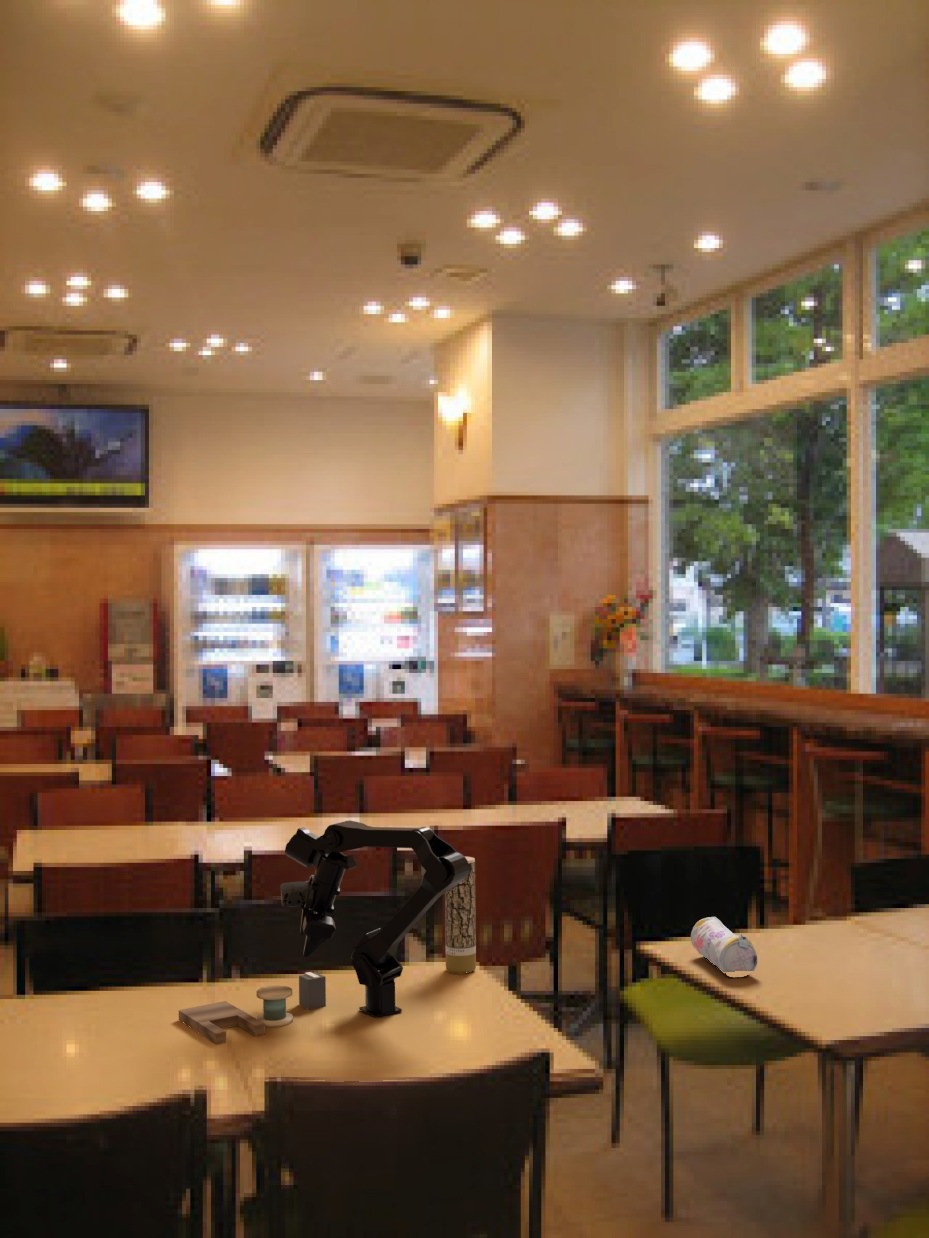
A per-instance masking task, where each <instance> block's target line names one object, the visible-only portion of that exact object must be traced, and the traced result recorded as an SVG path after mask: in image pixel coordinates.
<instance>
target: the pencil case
mask: <svg viewBox="0 0 929 1238" xmlns="http://www.w3.org/2000/svg"><path fill="white" fill-rule="evenodd" d="M690 933H691V934H690V941H691V945H692V947H693V948H694V949H695V950H696V951H697V952H698V954H700V955H701V956H702V955H703V956H704V957H705V958H707V959H708V960H709V961H711V962H712V963H714V964H715V965H716V966H717V967H718V968H719V969H721V970H722V971H723V972H735V971H754V972H755V970H756V968H757V965H758V955H757V951H756V949H755V947H754V945H753V944H752V942H751V940H749V938H748V937H747V936H744V935H742V934H743V933H742V932H741V933H738V934H735V933H733V932H732V931H731V930H730V929H729V928H727V926H725V925H724V924H723V922H722V921H721V920H720V919H719V918H717V917H716V916H711V917H710V916H709V917H704V918H702V919H700V920H698V921H697V922H696V923H695V925H694V926H693V927H692V930H691V932H690ZM703 956H702V957H703ZM704 957H703V958H704ZM705 958H704V959H705ZM707 959H706V960H707ZM708 960H707V961H708ZM709 961H708V962H709ZM717 967H716V968H717ZM718 968H717V969H718ZM719 969H718V970H719Z"/></svg>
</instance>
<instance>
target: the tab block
mask: <svg viewBox="0 0 929 1238" xmlns="http://www.w3.org/2000/svg"><path fill="white" fill-rule="evenodd" d="M326 978H327V977H326V976H325V975H323V974H321V973H318V972H316V971H315V972H311V971H308V972H304V974H300V975H298V1005H299V1006H301V1007H303V1008H304V1009H306V1010H312V1009H317V1008H323V1007H326V1006H327V1003H326V1001H327V999H326V998H327V997H326V996H327V994H326V992H327V990H326V989H327V988H326V987H327V985H326V984H327V983H326Z"/></svg>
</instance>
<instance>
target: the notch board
mask: <svg viewBox="0 0 929 1238" xmlns="http://www.w3.org/2000/svg"><path fill="white" fill-rule="evenodd" d="M179 1020H181V1021H180V1022H181V1023H182V1022H184V1023H185V1024H187V1025H189V1026H190V1027H191V1028H192V1029H191V1028H190V1027H189V1028H190V1029H191V1030H193V1031H195V1032H196V1031H197V1032H196V1033H198V1032H199V1033H200V1035H201V1036H202V1035H203V1036H202V1037H203V1038H205V1037H206V1039H207V1040H209V1041H210V1042H211V1043H213V1044H215V1045H221V1044H225V1043H227V1031H226V1030H225V1029H226V1027H228V1028H231V1027H236V1025H237V1026H238V1027H239V1028H242V1029H243V1030H244V1031H246V1032H248V1033H249V1034H251V1035H253V1036H255V1037H258V1036H263V1035H266V1027H265V1023H263V1022H261V1021H260V1020H258V1019H257V1017H254V1016H252V1015H251V1014H249V1013H248V1012H246V1011H244V1010H242V1009H240V1008H238V1007H236V1006H235V1005H233V1004H231V1003H230V1002H228V1001H227V1000H224V1001H218V1002H214V1003H209V1004H204V1005H198V1006H194V1007H193V1006H192V1007H188V1008H183V1009H179V1010H178V1021H179ZM184 1023H183V1024H184ZM185 1024H184V1025H185ZM187 1025H186V1026H187ZM221 1028H223V1029H221ZM199 1033H198V1034H199Z"/></svg>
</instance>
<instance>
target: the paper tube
mask: <svg viewBox="0 0 929 1238" xmlns="http://www.w3.org/2000/svg"><path fill="white" fill-rule="evenodd" d="M463 856H464V855H463ZM464 857H465V858H466V859H467V861H468V864H469V870H470V871H469V874H468V876H467V877H466V878H465V879H464V880H463V881H461V882H460V883H459V884H457V885H456V886H455V887H453V888H452V889H450V890H449V891H447V892H446V893H444V913H445V914H444V915H445V916H444V920H445V921H444V922H445V923H444V927H445V928H444V929H445V931H444V933H445V934H444V935H445V969H446V971H447V972H448V973H451V972H453V973H452V974H456V973H465V974H467V973H466V972H470V973H473V972H474V971H475V970H476V969H477V956H476V955H477V949H476V948H477V944H476V943H477V938H476V937H477V934H476V933H477V929H476V928H477V927H476V926H477V924H476V922H477V921H476V915H477V913H476V860H475V857H473V856H467V855H465V856H464ZM472 971H473V972H472Z"/></svg>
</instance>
